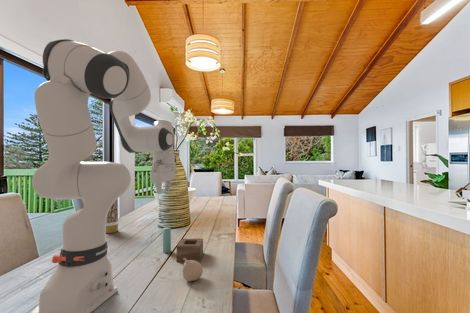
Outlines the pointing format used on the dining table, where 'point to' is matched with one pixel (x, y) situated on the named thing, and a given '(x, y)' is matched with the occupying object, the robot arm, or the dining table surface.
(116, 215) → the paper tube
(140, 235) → the dining table surface
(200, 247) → the socket block
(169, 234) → the peg
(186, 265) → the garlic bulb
